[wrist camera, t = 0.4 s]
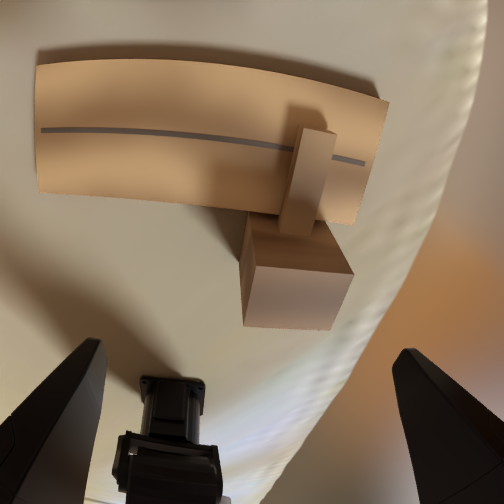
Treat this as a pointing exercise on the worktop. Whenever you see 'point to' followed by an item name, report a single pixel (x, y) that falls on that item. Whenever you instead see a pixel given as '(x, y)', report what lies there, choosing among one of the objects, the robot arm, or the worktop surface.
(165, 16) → the worktop surface
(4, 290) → the worktop surface
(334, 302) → the brown block with bar
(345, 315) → the worktop surface
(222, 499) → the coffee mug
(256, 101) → the plank
